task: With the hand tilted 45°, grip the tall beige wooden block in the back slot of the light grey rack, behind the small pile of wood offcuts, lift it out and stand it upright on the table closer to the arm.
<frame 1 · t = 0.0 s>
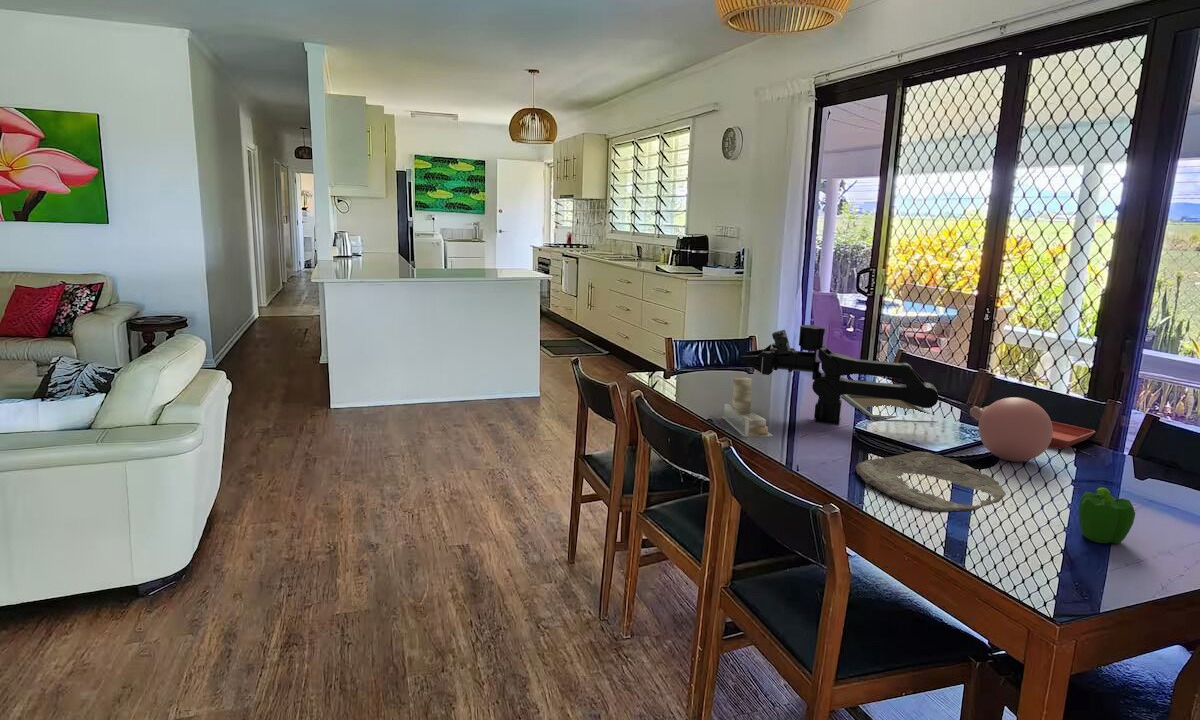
hand: (742, 355, 205), 17 cm above the table, tool horizontal, fingers open, 9 cm apart
offcut rack: (740, 422, 195), on the table
bell pepper: (1099, 539, 127), on the table
beige wooden block: (740, 420, 195), point 1 cm above the table, touching offcut rack
offcut pile: (754, 431, 186), point 1 cm above the table, touching offcut rack
clipboard: (884, 409, 216), on the table
plant saucer: (1043, 439, 189), on the table
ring: (926, 485, 153), on the table
balloon: (1001, 457, 172), on the table
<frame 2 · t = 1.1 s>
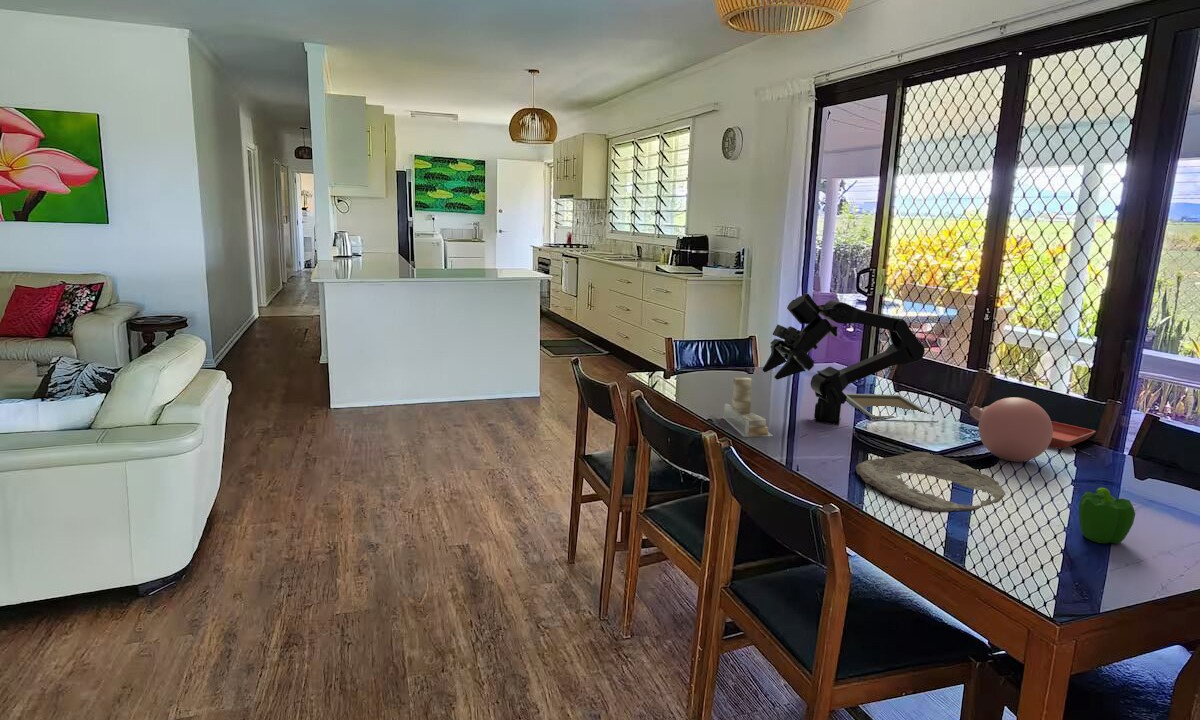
hand: (769, 374, 194), 14 cm above the table, tool tilted 45°, fingers open, 9 cm apart
nothing on the table moved.
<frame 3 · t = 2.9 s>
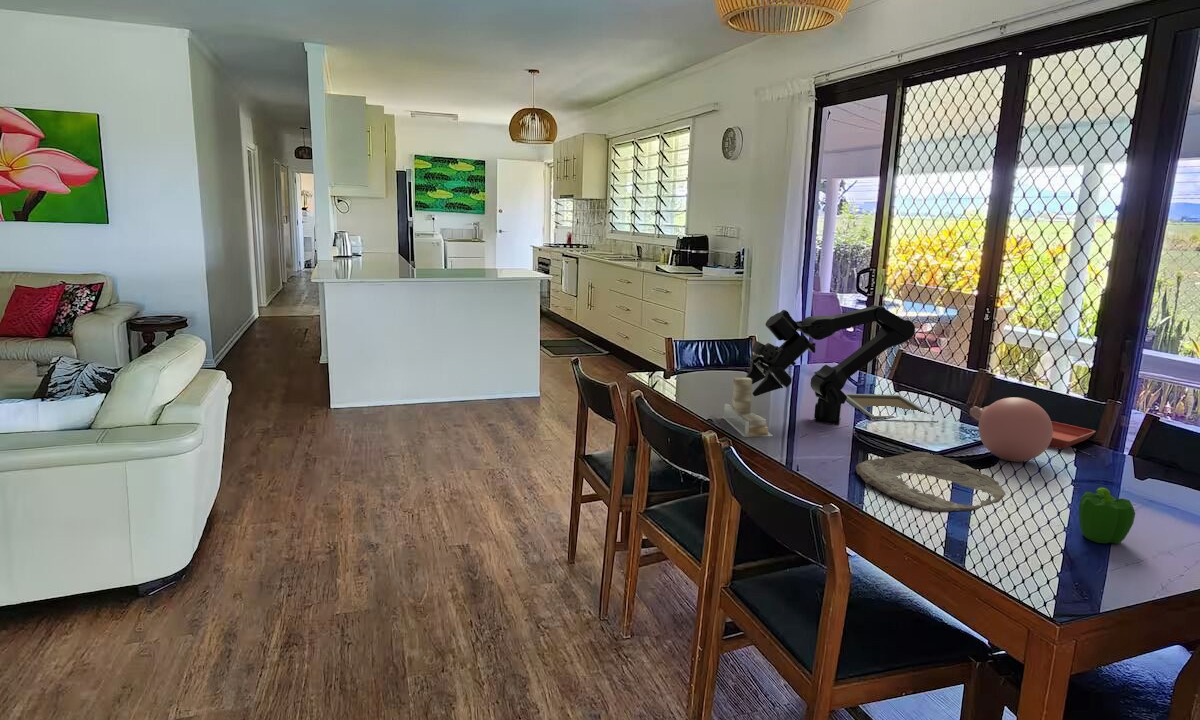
hand: (747, 391, 194), 9 cm above the table, tool tilted 45°, fingers open, 9 cm apart
nothing on the table moved.
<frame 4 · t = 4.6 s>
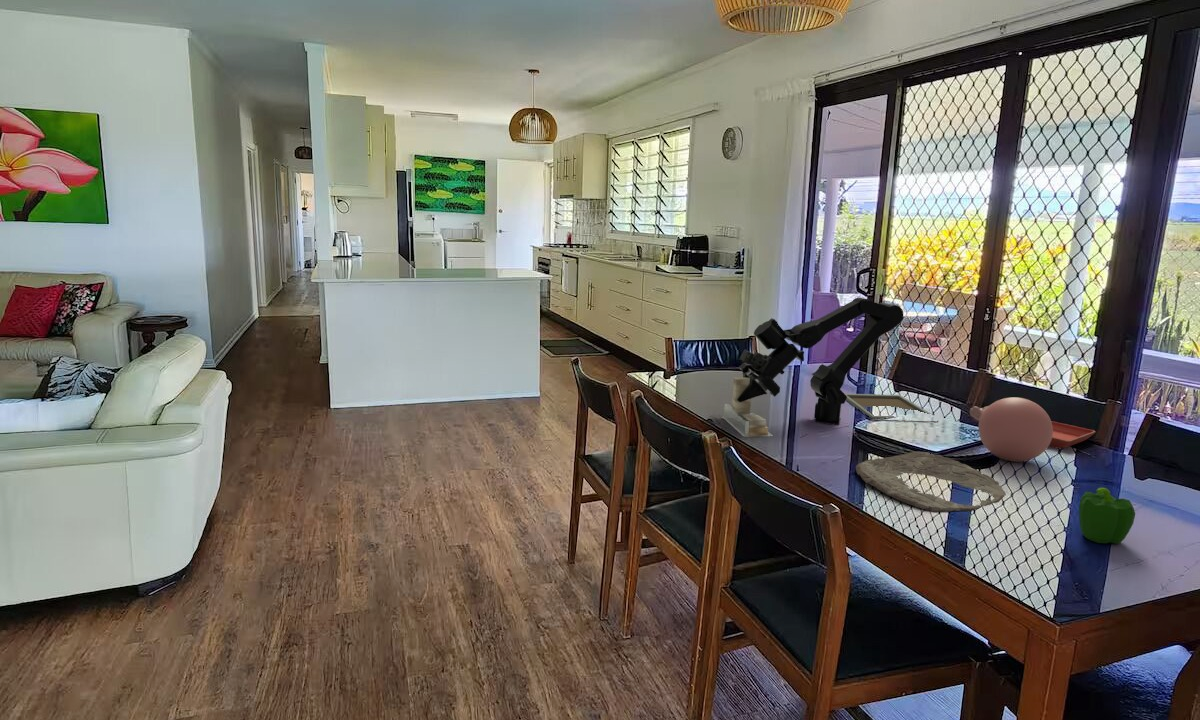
hand: (736, 399, 194), 7 cm above the table, tool tilted 45°, fingers closed on beige wooden block, 2 cm apart
beige wooden block: (740, 420, 195), point 1 cm above the table, touching gripper, offcut rack
everything else where it was.
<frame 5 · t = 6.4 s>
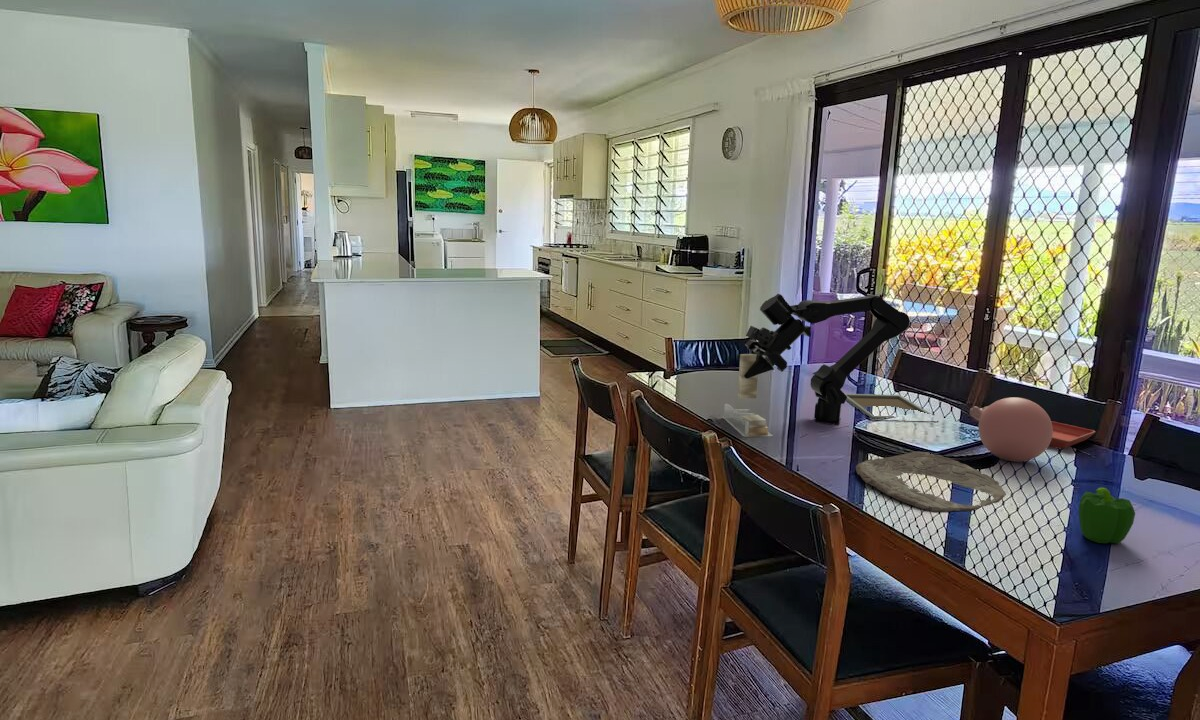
hand: (743, 376, 193), 13 cm above the table, tool tilted 45°, fingers closed on beige wooden block, 2 cm apart
beige wooden block: (747, 397, 194), point 7 cm above the table, touching gripper
everything else where it was.
when the fingers open (7 cm above the table, at t = 8.2 s): beige wooden block drops 2 cm, on the table.
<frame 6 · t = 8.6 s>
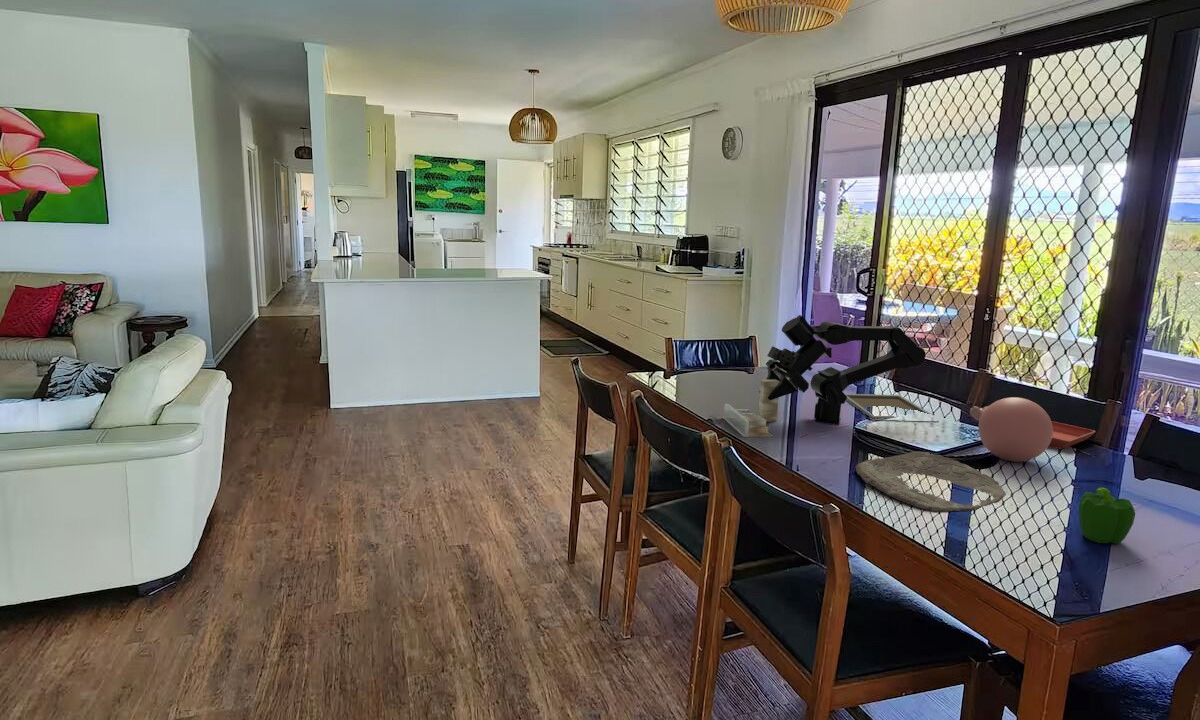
hand: (764, 396, 195), 8 cm above the table, tool tilted 45°, fingers open, 6 cm apart
beige wooden block: (767, 422, 196), on the table
everything else where it was.
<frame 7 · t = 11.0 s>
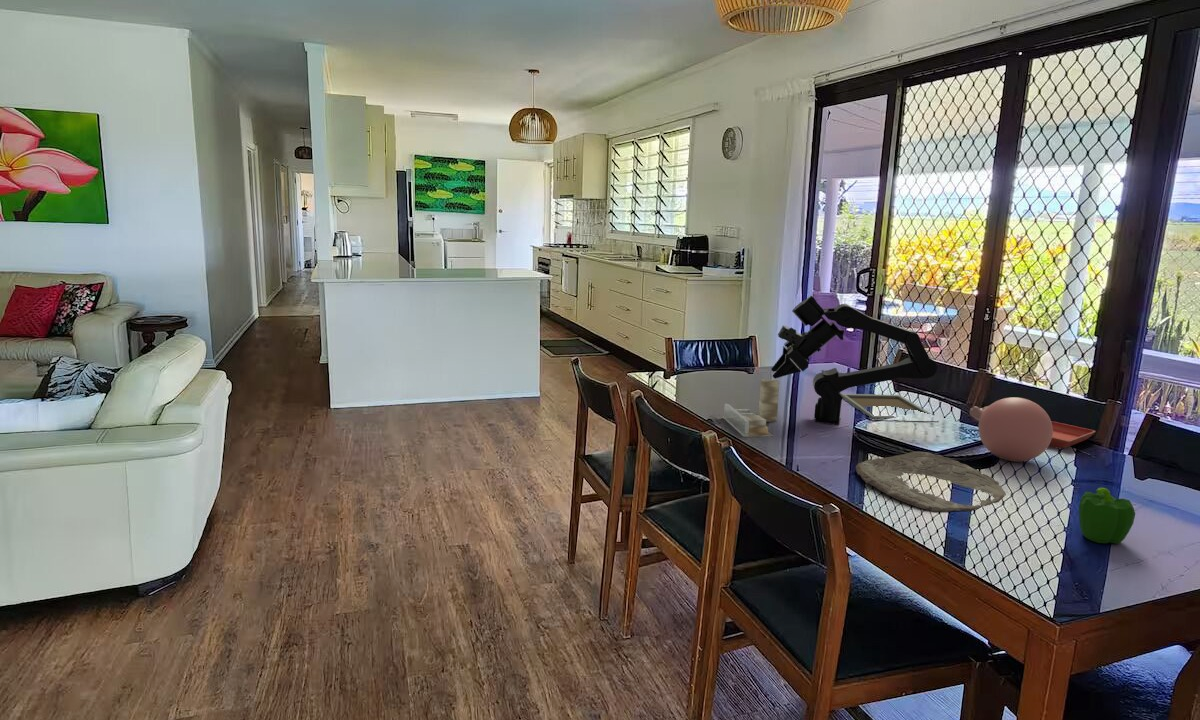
hand: (772, 373, 199), 13 cm above the table, tool tilted 45°, fingers open, 9 cm apart
nothing on the table moved.
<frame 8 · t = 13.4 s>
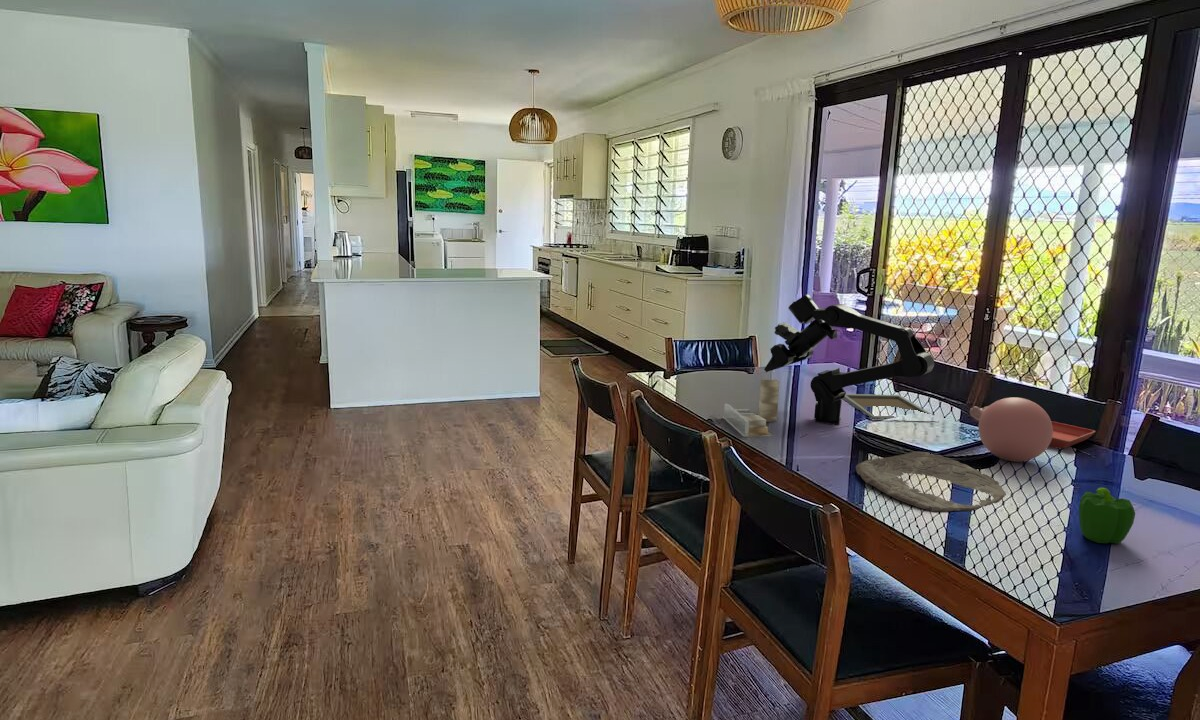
hand: (772, 368, 208), 13 cm above the table, tool tilted 45°, fingers open, 9 cm apart
nothing on the table moved.
at the end: beige wooden block 0.2 cm from the target spot, on the table; beige wooden block tilted 0°; the gripper is holding nothing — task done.
